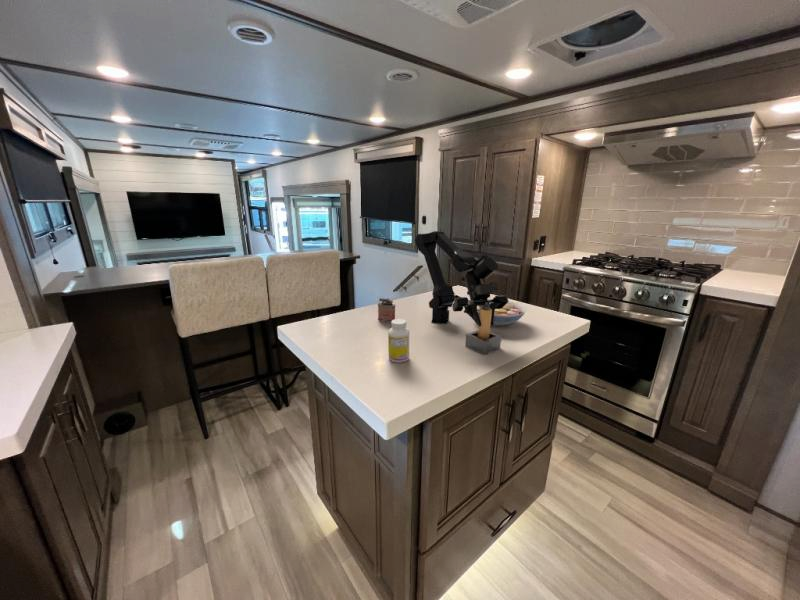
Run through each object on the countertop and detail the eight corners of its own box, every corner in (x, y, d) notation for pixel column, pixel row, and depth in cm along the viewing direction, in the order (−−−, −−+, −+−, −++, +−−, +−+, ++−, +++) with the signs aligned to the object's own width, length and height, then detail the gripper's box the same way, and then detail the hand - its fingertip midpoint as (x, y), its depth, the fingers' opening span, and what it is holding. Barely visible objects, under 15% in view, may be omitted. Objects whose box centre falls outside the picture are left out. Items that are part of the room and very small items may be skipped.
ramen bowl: (527, 337, 118) (530, 316, 115) (466, 331, 123) (467, 311, 121) (521, 315, 141) (523, 298, 139) (469, 311, 147) (470, 294, 144)
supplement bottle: (393, 352, 105) (393, 316, 101) (412, 356, 103) (412, 319, 99) (385, 361, 99) (384, 323, 95) (404, 365, 97) (404, 326, 93)
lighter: (396, 321, 134) (396, 298, 131) (393, 323, 131) (393, 300, 128) (380, 318, 137) (379, 296, 134) (376, 320, 134) (376, 298, 131)
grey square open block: (484, 354, 104) (486, 342, 102) (465, 346, 110) (466, 334, 109) (500, 348, 109) (501, 336, 107) (480, 340, 115) (481, 328, 114)
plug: (476, 343, 107) (480, 303, 103) (477, 339, 111) (480, 299, 107) (488, 345, 106) (492, 304, 102) (488, 340, 110) (492, 300, 106)
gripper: (457, 274, 104) (468, 317, 97) (508, 272, 107) (522, 313, 100) (448, 291, 114) (457, 331, 106) (495, 289, 117) (507, 327, 110)
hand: (486, 325), depth 106 cm, fingers closed on plug, 4 cm apart
